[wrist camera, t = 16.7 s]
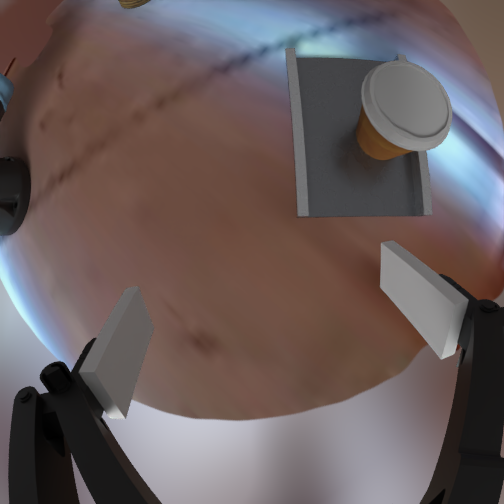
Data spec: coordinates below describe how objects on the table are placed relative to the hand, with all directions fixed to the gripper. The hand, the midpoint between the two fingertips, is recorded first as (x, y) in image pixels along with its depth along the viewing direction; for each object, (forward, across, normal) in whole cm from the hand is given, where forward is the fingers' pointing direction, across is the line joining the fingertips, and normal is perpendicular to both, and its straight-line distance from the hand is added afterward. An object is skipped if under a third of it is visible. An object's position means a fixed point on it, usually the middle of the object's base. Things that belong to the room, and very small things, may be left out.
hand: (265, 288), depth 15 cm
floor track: (+23, +15, +7) cm, 28 cm away
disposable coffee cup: (+22, +18, +6) cm, 29 cm away
